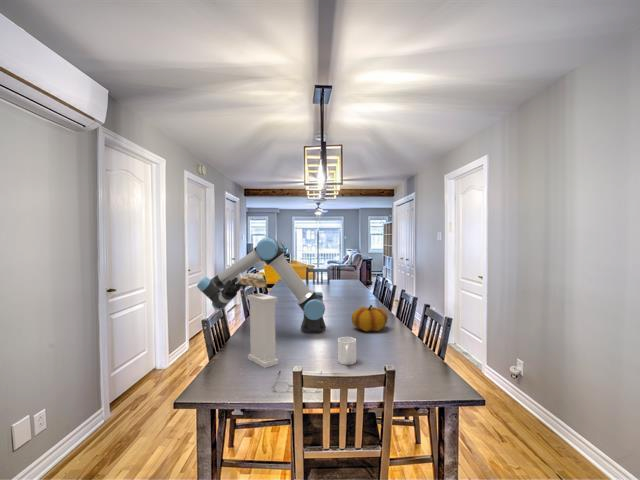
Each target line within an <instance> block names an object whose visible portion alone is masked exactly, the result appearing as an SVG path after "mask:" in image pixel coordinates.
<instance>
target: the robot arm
mask: <svg viewBox="0 0 640 480" xmlns="http://www.w3.org/2000/svg"><path fill="white" fill-rule="evenodd" d="M260 262H262V263H263V262H264V263H265V264H266V266H268V267H271V268H272V269H273V270H274V272H275V273H276V274H277V275H278V277H279V278H280V280H282V281H283V283H284V284H285V286H286V287H287V288H288V289H289V290H290V291H291V293H292V294H293V295H294V297H295V298H296V299H297V305H298V307H300V309H301V310H302V312H303V319H302V322H301V325H300V332H302V333H305V334H321V333H324V332H326V331H327V326H326V323H325V319H324V314H325V313H326V307H325V306H326V305H325V303H324V299H323V298H324V294H323V292H321V291H315V290H311V289H309V287H308V286H307V284H306V283H305V282H304V280H302V278H301V277H300V276H299V275H298V273H297V272H296V270H295V269H294V268H293V267H292V265H291V264H290V263H289V262H288V261H287V258H286V257H285V252H284V251H283V249H282V248H281V246H280V245H279V243H278V242H277V240H276V239H274V238H272V237H265V238H261V239H260V240H259V241H258V242H257V244H256V246H255V247H253V250H252V251H250V252H249V253H248V254H246V255H244V256H243V257H242V258H240V259H239V260H238V261H236V262H235V263H232V265H230V266H229V267H227V268H225V269H224V270H223V271H221V272H219V273H218V274H217V275H215V276H214V277H212V278H211V279H210V278H209V277H208V276H206V277H203V278H202V279H201V280H200V281H199V282H198V283H197V286H196V287H197V288H198V289H199V291H200V292H201V293H203V295H205V296H206V297H207V299H209V300H210V301H211V306H212V308H213V309H214V310H217V311H221V310H223V309H224V308H226V306H228V305H229V304H230V303H231V301H232V300H234V299H235V298H236V297H237V295H238V292H239V291H240V290H242V291H245V290H246V288H247V287H249V286H248V285H243V284H239V283H238V282H239V281H240V280H241V279H242V276H243V275H242V274H243V273H245V272H247V271H248V270H249V269H251V268H253V267H255V266H256V265H257V264H258V263H260ZM250 273H251V272H249V271H248V272H247V273H246V274H245V277H248V275H249V274H250ZM235 276H237V277H236V278H234V277H235ZM219 307H220V308H219Z"/></svg>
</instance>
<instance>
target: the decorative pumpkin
mask: <svg viewBox="0 0 640 480" xmlns="http://www.w3.org/2000/svg"><path fill="white" fill-rule="evenodd" d="M351 323H352V324H353V326H354V327H355V328H356V329H358V330H360V331H364V332H367V333H368V332H380V330H382V329H383V328H384V327H385V326H386V324H387V323H388V314H387V312H386V311H385V309H383V308H380V307H378V308H377V307H375V306H373V305H372V304H370V305H369V307H365V306H361V307H359V308H358V309H356V310H355V311H353V313H352V314H351Z"/></svg>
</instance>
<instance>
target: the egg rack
mask: <svg viewBox="0 0 640 480" xmlns="http://www.w3.org/2000/svg"><path fill="white" fill-rule="evenodd" d="M245 276H246V275H245ZM245 276H244V275H242V279H241V280H240V281H239V282H238V283H239V284H243V285H248V286H247V287H253V288H258V289H260V288H266V286H267V285H266V284H267V281H266V279H264V276H263V275H262V274H261V273H254V272H250V274H249V275H248V277H245ZM236 277H237V276H235V277H234V278H236Z"/></svg>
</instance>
